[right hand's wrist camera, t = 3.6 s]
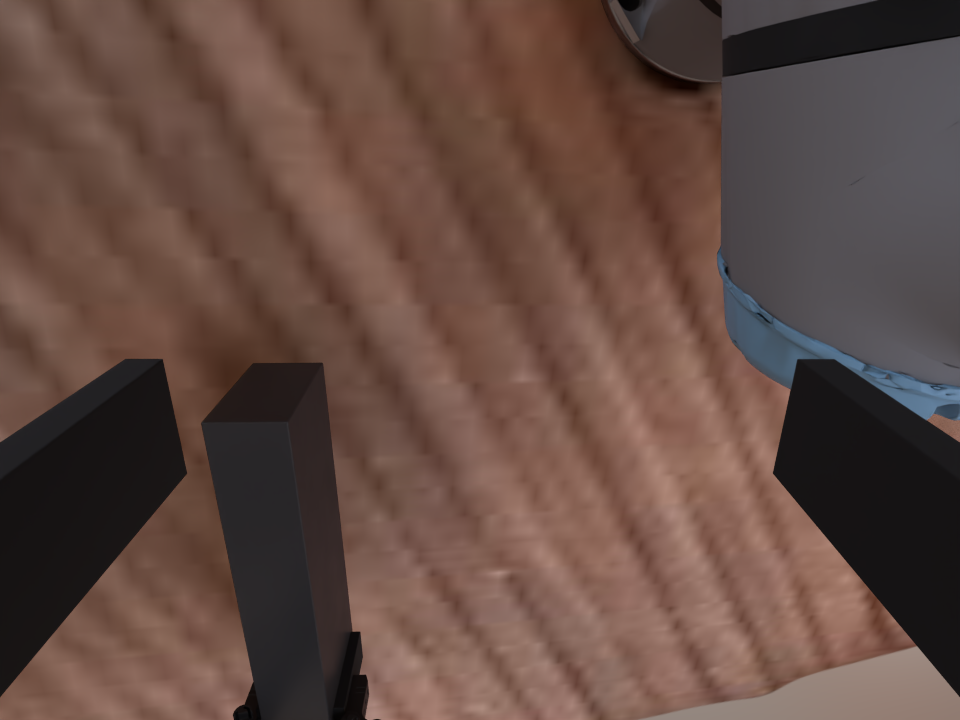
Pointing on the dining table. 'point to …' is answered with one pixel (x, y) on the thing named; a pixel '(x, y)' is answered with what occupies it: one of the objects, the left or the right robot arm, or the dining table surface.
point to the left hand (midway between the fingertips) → (323, 645)
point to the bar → (283, 534)
